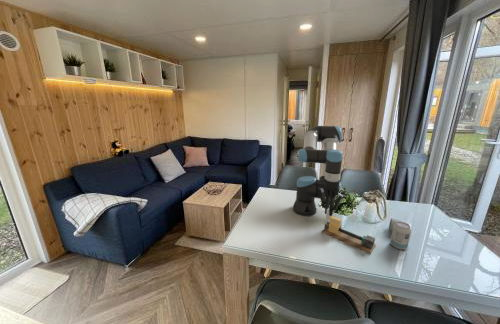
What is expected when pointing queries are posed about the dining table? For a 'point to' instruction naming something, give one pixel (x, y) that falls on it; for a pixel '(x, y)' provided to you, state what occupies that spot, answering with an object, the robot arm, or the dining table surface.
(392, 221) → the ceramic mug
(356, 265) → the dining table surface
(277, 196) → the dining table surface
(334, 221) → the sleeve
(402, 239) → the beverage can
